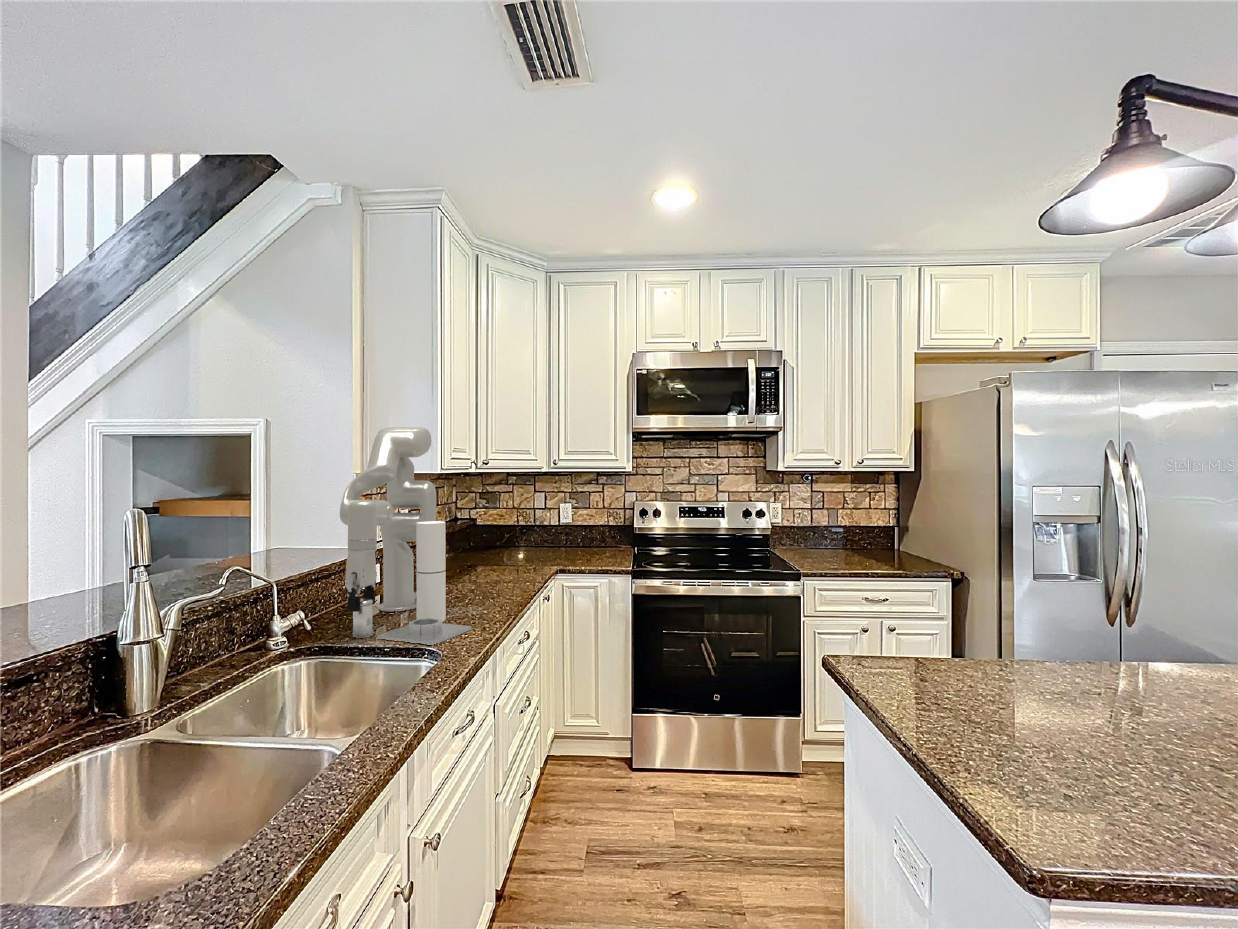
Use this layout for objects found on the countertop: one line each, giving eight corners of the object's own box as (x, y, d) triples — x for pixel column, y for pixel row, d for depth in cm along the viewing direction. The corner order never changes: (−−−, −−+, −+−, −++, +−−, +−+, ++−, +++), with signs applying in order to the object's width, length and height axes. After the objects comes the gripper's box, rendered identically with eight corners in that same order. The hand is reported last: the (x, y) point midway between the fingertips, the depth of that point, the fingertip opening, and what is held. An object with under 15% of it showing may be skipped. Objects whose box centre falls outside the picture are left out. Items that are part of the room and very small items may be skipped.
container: (410, 622, 194) (410, 523, 194) (428, 616, 202) (428, 520, 202) (433, 624, 191) (433, 524, 191) (451, 618, 199) (451, 521, 199)
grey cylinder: (362, 633, 182) (362, 598, 182) (376, 635, 180) (376, 599, 180) (348, 637, 177) (348, 601, 177) (363, 639, 175) (363, 603, 175)
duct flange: (420, 624, 192) (420, 612, 192) (471, 629, 185) (471, 617, 185) (377, 639, 175) (377, 626, 175) (431, 646, 169) (431, 632, 169)
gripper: (362, 542, 187) (361, 602, 186) (334, 549, 170) (333, 614, 169) (387, 542, 187) (387, 602, 186) (362, 549, 169) (361, 614, 169)
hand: (361, 607), depth 178 cm, fingers open, 9 cm apart
